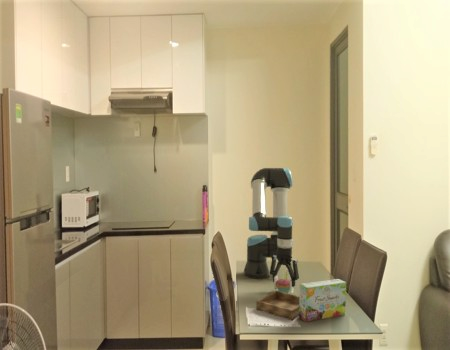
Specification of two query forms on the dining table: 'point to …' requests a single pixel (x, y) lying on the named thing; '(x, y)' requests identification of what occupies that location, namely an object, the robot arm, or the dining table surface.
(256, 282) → the dining table surface
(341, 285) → the snack box
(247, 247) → the robot arm
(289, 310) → the walnut tray
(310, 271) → the dining table surface
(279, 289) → the cupcake
